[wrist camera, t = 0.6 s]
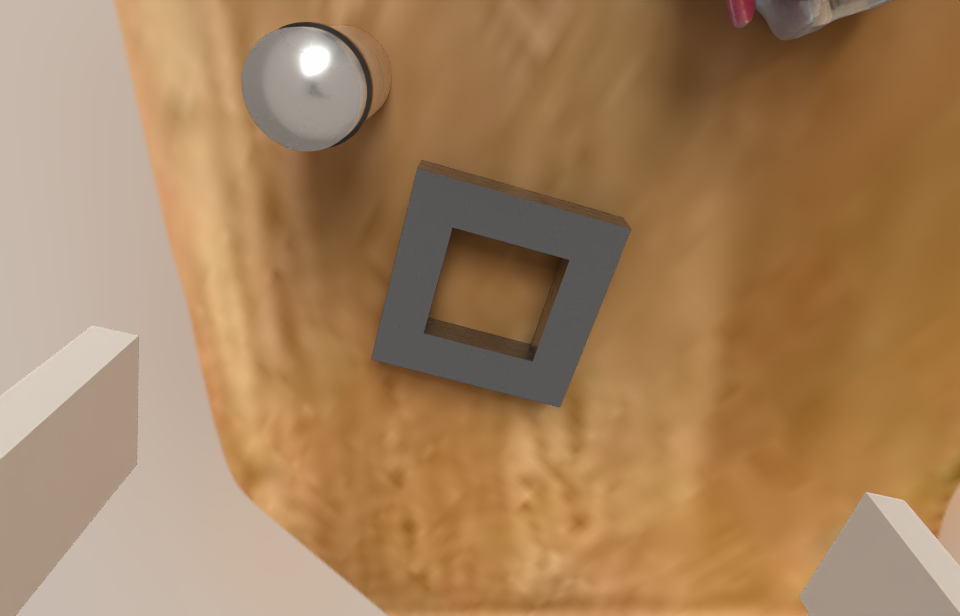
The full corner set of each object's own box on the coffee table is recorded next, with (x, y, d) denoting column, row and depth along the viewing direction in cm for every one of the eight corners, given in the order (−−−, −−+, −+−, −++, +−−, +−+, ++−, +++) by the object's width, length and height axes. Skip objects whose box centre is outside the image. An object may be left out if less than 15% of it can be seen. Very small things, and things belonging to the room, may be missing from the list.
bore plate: (421, 160, 32) (417, 168, 31) (623, 217, 34) (631, 229, 32) (377, 342, 37) (371, 359, 35) (556, 388, 38) (559, 407, 36)
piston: (306, 8, 30) (246, 5, 22) (404, 38, 30) (376, 44, 23) (291, 108, 32) (230, 135, 24) (383, 135, 32) (351, 170, 25)
